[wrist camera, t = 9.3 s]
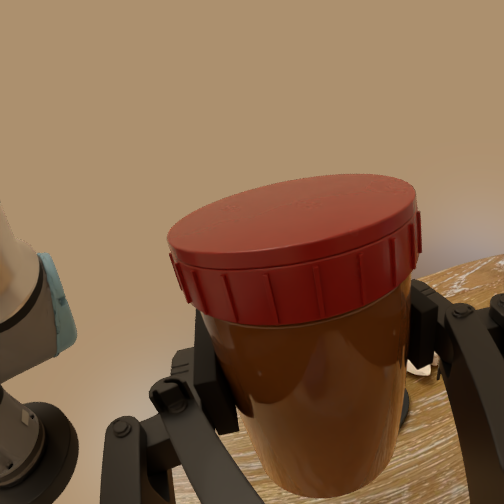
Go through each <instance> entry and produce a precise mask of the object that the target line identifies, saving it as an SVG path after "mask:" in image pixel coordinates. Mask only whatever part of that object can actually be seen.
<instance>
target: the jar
mask: <svg viewBox="0 0 504 504" xmlns="http://www.w3.org/2000/svg"><path fill="white" fill-rule="evenodd" d="M200 312H201V311H200ZM201 315H202V318H203V321H204V323H205V326H206V329H207V332H208V334H209V337H210V340H211V342H212V345H213V348H214V351H215V353H216V356H217V358H218V361H219V364H220V366H221V369H222V372H223V374H224V377H225V379H226V382H227V384H228V387H229V389H230V392H231V394H232V397H233V399H234V402H235V404H236V407H237V409H238V411H239V414H240V416H241V419H242V421H243V423H244V426H245V428H246V430H247V433H248V435H249V437H250V440H251V442H252V444H253V446H254V449H255V451H256V453H257V455H258V458H259V460H260V462H261V464H262V466H263V468H264V471H265V472H266V474H267V475H268V476H269V478H270V479H271V480H272V481H273V482H274V483H275V484H277V485H278V486H280V487H281V488H283V489H284V490H286V491H288V492H290V493H293V494H296V495H299V496H303V497H308V498H332V497H338V496H342V495H345V494H349V493H351V492H354V491H356V490H359V489H360V488H362V487H364V486H366V485H367V484H369V483H370V482H371V481H373V480H374V479H375V478H376V477H377V476H378V475H379V474H381V473H382V471H383V470H384V469H385V468H386V466H387V465H388V463H389V462H390V460H391V458H392V456H393V453H394V451H395V446H396V441H397V436H398V431H399V425H400V419H401V412H402V406H403V398H404V391H405V382H406V373H407V363H408V351H409V337H410V317H411V273H410V275H409V276H408V277H407V278H406V279H405V280H404V281H403V282H402V283H401V284H400V285H399V286H398V287H396V288H395V289H394V290H392V291H391V292H389V293H387V294H386V295H384V296H383V297H381V298H379V299H377V300H375V301H373V302H371V303H369V304H367V305H365V306H363V307H360V308H357V309H355V310H352V311H349V312H347V313H344V314H340V315H337V316H333V317H329V318H326V319H321V320H316V321H310V322H305V323H298V324H288V325H247V324H237V323H232V322H227V321H223V320H219V319H217V318H214V317H211V316H208V315H205V314H204V313H203V312H201Z"/></svg>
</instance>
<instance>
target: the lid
mask: <svg viewBox="0 0 504 504" xmlns="http://www.w3.org/2000/svg"><path fill="white" fill-rule="evenodd" d="M416 201H417V200H416V192H415V189H414V188H413V186H412V185H410V184H409V183H408V182H405V181H403V180H401V179H397V178H394V177H389V176H383V175H373V174H338V175H326V176H316V177H309V178H303V179H296V180H290V181H285V182H280V183H275V184H271V185H267V186H263V187H259V188H255V189H252V190H248V191H244V192H241V193H238V194H235V195H232V196H229V197H226V198H223V199H221V200H218V201H216V202H213V203H211V204H208V205H206V206H204V207H202V208H200V209H198V210H196V211H194V212H192V213H191V214H189V215H187V216H186V217H184V218H182V219H181V220H180V221H178V222H177V223H176V224H175V225H174V226H173V227H172V228H171V229H170V231H169V232H168V235H167V241H168V244H169V248H170V251H171V253H169V256H170V259H171V262H172V265H173V268H174V271H175V274H176V277H177V280H178V282H179V286H180V288H181V290H183V292H184V295H185V298H186V301H187V303H188V304H189V303H191V304H192V305H193V306H194V307H195V308H196V309H198V310H199V311H201V312H203V313H204V314H205V315H208V316H211V317H214V318H217V319H219V320H223V321H227V322H232V323H237V324H247V325H288V324H298V323H305V322H310V321H316V320H321V319H326V318H329V317H333V316H337V315H340V314H344V313H347V312H349V311H352V310H355V309H357V308H360V307H363V306H365V305H367V304H369V303H371V302H373V301H375V300H377V299H379V298H381V297H383V296H384V295H386V294H387V293H389V292H391V291H392V290H394V289H395V288H396V287H398V286H399V285H400V284H401V283H402V282H403V281H404V280H405V279H406V278H407V277H408V276H409V275H410V273H411V272H412V271H413V269H415V268H416V263H417V261H418V257H419V253H422V239H421V218H420V217H421V216H420V211H417V202H416Z"/></svg>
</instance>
